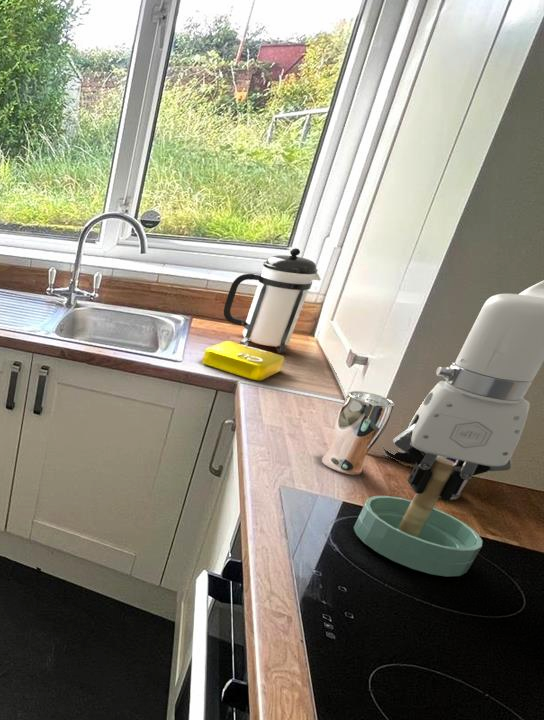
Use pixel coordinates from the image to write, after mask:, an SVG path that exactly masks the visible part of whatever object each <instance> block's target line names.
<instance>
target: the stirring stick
mask: <svg viewBox="0 0 544 720" xmlns="http://www.w3.org/2000/svg"><path fill="white" fill-rule="evenodd" d="M455 466H456V463H454V462H453V461H451V460H448V459H445V458H441V457H437V458H436V459H435V461H434V463H433V464H432V466H431V469H430V470H431V471H432V473H433V474H432V476H431V478H430V480H429V482H428V484H427V486H426V488H425V490H424V491H423V493H421V494H418V493H415V492H414V495H413V497H412V499H411V503H410V505H409V507H408V509H407V511H406V513H405V515H404V517H403V519H402V521H401V523H400V524H399V526H398V528H397V529H399V530H401V531H403V532H405V533H407V534H409V535H412V536H414V537H418V535H419V533H420V532H421V530H422V528H423V526H424V524H425V522H426V520H427V519H428V517H429V515H430V513H431V511H432V509H433V508H435V506H436V504H437V502H438V501H439V496H440V494H441V492H442V491H443V489H444V487H445V485H446V483H447V481H448V479H449V478H450V476H451V474H452V472H453V470H454V468H455Z"/></svg>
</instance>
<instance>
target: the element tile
mask: <svg viewBox="0 0 544 720" xmlns="http://www.w3.org/2000/svg"><path fill="white" fill-rule="evenodd" d="M284 360H285V357H284V355H282V354H279V353H274V352H271V351H267V350H264V349H260V348H257V347H254V346H249V345H247V346H246V345H243V344H240V342H237V341H232V340H226V341H222V342H220V343H218V344H214V345H212V346H209V347H206V349H205V351H204V355H203V358H202V361H201V362H202V364H203V365H205V366H208V367H211V368H214V369H217V370H221V371H223V372H227V373H230V374H233V375H236V376H240V377H243V378H244V379H245V378H246V379H248V380H253V381H258V382H259V381H263V380H265V379H267V378H270V377H271V376H273V375H275V374H277V373H280V371H281V370H282V366H283V364H284Z"/></svg>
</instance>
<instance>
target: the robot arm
mask: <svg viewBox="0 0 544 720" xmlns="http://www.w3.org/2000/svg"><path fill="white" fill-rule="evenodd" d="M543 364H544V279H543V280H542V281H538V282H537V283H535V284H533V285H532V286H529V287H528V288H526V289H524V290H523V291H521V292H520V293H498V294H494V295H492V296H490V297H489V298H488V299H486V301H485V302H484V303H483V305H482V307H481V309H480V311H479V313H478V315H477V317H476V319H475V321H474V323H473V325H472V327H471V329H470V331H469V333H468V335H467V337H466V339H465V341H464V343H463V345H462V347H461V349H460V350H459V353H458V355H457V357H456V359H455V362H452V363H451V365H450V366H445V367H444V366H443V367H442V366H439V367H437V369H436V371H435V376H437V377H442V378H443V379H444V380H440V381H438V383H436V385H435V386H433V387H432V389H431V390H430V392H429V393H428V394H427V395H426V397H425V398H424V399H423V400H424V401H423V402H422V404H421V405H420V407H419V408H418V410H417V411H416V413H415V415H414V416H413V418H412V420H411V422H410V423H409V426H408V428H407V429H406V430H405V431H403V432H402V433H400V434H399V435H398V436H396V437H395V438H394V439H393V440H392V441H393V443H394V444H395V446H397V447H398V448H400V449H402V450H403V451H405V452H407V453H408V454H410V455H411V457H412V458H413V459H414V461H415V462H416V464H414V466H413V468H412V469H411V472H410V474H409V475H408V478H407V483H408V484H409V485H410V487H411V488H412V490H413V492H414V494H415V493H418V494H421V493H423V491H424V490H425V488H426V486H427V484H428V482H429V480H430V478H431V476H432V474H433V473H432V471H431V470H430V469H431V466H432V464H433V463H434V461H435V459H436V458H437V456H438V455H439V456H443V457H448V458H452V459H457V460H456V462H455V463H456V466H455V468H454V470H453V472H452V474H451V476H450V478H449V479H448V481H447V483H446V485H445V487H444V489H443V491H442V492H441V494H440V496H441V498H440V499H442V500H443V501H447V502H449V501H451V500H450V498H451V497H452V495H453V494H454V495H456V494H457V493H458V491H459V489H460V487H461V485H462V484H463V482H464V480H465V479H466V480H467V479H469V480H470V479H472V477H473V476H477V475H481V474H484V473H488V472H501V471H503V472H504V471H509V470H510V469H511V468H512V466H511V465H512V464H511V458H512V456H513V455H514V453H515V450H516V448H517V446H518V444H519V442H520V439H521V436H522V434H523V431H524V428H525V425H526V422H527V419H528V417H529V416H528V415H529V412H530V411H529V410H530V405H531V403H530V401H528V400H526V399H525V398H524V397H525V396H526V394H527V393H528V391H529V388H530V387H531V385H532V383H533V381H534V380H535V377H536V375H538V372H539V370H540V369H541V366H542V365H543ZM410 442H411V443H412V444H413V445H412V444H411V443H410Z"/></svg>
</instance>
